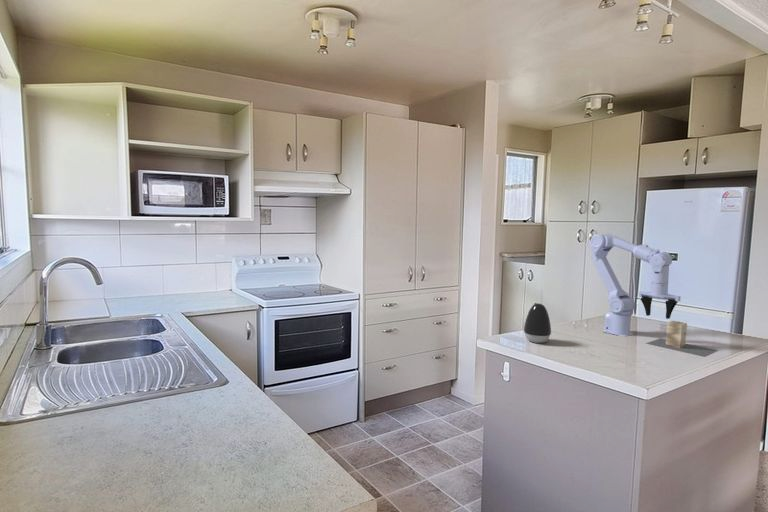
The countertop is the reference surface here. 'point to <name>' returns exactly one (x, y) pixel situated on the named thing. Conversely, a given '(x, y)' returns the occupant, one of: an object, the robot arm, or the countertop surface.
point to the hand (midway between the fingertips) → (657, 316)
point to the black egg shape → (537, 324)
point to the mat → (684, 348)
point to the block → (676, 334)
